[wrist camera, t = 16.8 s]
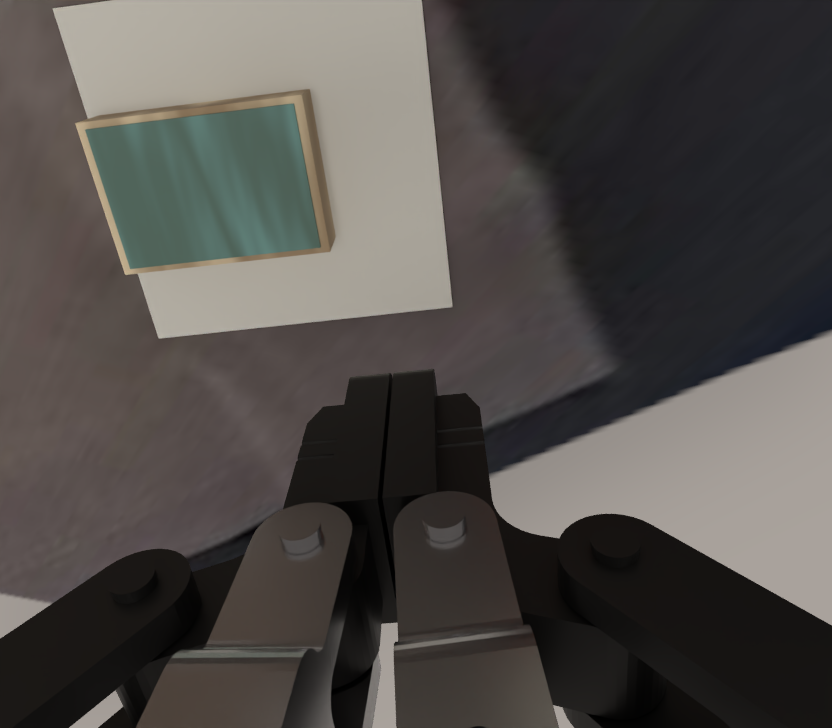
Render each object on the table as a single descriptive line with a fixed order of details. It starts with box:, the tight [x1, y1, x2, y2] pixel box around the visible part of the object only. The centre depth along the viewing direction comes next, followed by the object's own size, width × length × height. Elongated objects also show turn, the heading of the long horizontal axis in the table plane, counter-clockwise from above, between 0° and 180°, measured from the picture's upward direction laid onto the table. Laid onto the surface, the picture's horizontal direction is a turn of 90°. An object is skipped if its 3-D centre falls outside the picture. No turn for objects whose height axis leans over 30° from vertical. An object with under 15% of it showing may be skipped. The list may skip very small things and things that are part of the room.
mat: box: [53, 0, 453, 338], centre depth 33 cm, size 16×16×1 cm
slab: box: [75, 89, 336, 275], centre depth 32 cm, size 2×7×10 cm
